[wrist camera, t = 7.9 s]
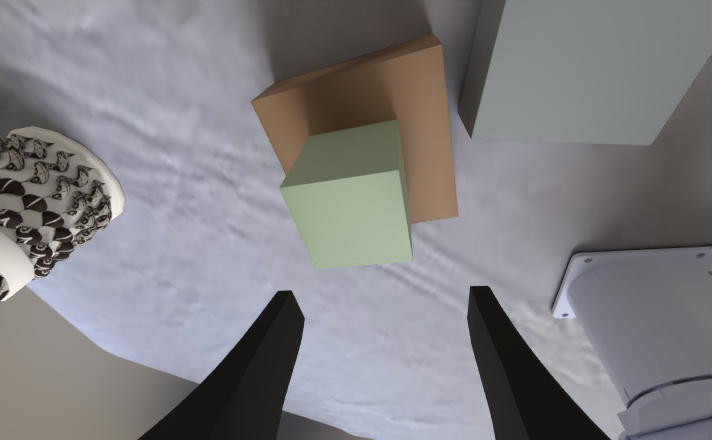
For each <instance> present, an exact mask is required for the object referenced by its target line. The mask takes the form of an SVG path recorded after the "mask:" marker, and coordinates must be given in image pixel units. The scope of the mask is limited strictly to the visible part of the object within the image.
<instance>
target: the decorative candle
mask: <svg viewBox="0 0 712 440" xmlns="http://www.w3.org/2000/svg"><path fill="white" fill-rule="evenodd" d="M124 202H125V197H124V195H123V192H122V189H121V186H120V183H119V181H118V180H117V179H116V178H115V176H114V175H113V174H112V172H111V171H110V170H109V168H108V167H107V166H106V165H105V163H103V162H102V161H101V160H100V159H99V158H97V157H96V156H95V155H94V154H93V153H91V152H90V151H89V150H88V149H87V148H85V147H84V146H83V145H81V144H79V143H77V142H76V141H74V140H72V139H70V138H68V137H66V136H64V135H62V134H60V133H59V132H56V131H52V130H47V129H43V128H39V127H35V126H31V127H25V128H19V129H15V130H12V131H11V132H10V133H9V134H8V136H7V137H3V136H1V135H0V301H5V300H6V299H8V298H9V297H10V296H12V295H13V294H14V293H16V292H17V291H18V290H19V289H21V288H22V287H23V286H25V285H26V284H27V283H28V282H30V281H31V280H35V279H37V278H43V277H45V276H47V275H48V274H49V273H50V270H51V269H52V268H53V267H54V265H55V263H56V262H57V261H64V260H66V259H67V258H68V257H69V253H71V252H73V250H74V247H75V246H81V245H84V244H86V243H88V242H89V241H90V240H91V239H92V237H93V235H94V234H95V233H96V232H99V231H102V230H103V229H105V228H106V226H107V224H108V223H109V222H110V221H111V220H112V219H114V218H115V217H116V216H118V215H119V214H120V213H122V212H123V207H124ZM58 252H59V253H58ZM57 253H58V254H57Z"/></svg>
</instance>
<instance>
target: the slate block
mask: <svg viewBox="0 0 712 440" xmlns="http://www.w3.org/2000/svg"><path fill="white" fill-rule="evenodd" d="M711 54H712V0H482V3H481V7H480V12H479V17H478V22H477V26H476V31H475V36H474V41H473V45H472V50H471V55H470V60H469V64H468V69H467V74H466V79H465V83H464V88H463V93H462V98H461V102H460V107H459V112H458V114H459V116H460V118H461V120H462V122H463V124H464V126H465V128H466V130H467V132H468V134H469V136H470V138H471V139H476V140H504V141H532V142H560V143H588V144H617V145H645V146H651V145H652V143H653V142H654V140H655V139H656V137H657V136H658V134H659V133H660V131H661V130H662V128H663V126H664V125H665V123H666V122H667V120H668V119H669V117H670V116H671V114H672V113H673V111H674V110H675V108H676V107H677V105H678V104H679V102H680V101H681V99H682V98H683V96H684V95H685V93H686V92H687V90H688V89H689V87H690V86H691V84H692V83H693V81H694V80H695V78H696V77H697V75H698V74H699V72H700V70H701V69H702V67H703V66H704V64H705V63H706V61H707V60H708V58H709V57H710V55H711Z"/></svg>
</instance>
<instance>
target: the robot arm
mask: <svg viewBox="0 0 712 440" xmlns="http://www.w3.org/2000/svg"><path fill="white" fill-rule="evenodd" d="M551 314H552V316H553V317H555V318H577V319H578V321H579V323H580V325H581V327H582V328H583V330H584V332H585V334H586V336H587V337H588V339H589V341H590V343H591V345H592V347H593V348H594V350H595V352H596V354H597V356H598V357H599V359H600V361H601V363H602V365H603V366H604V368H605V370H606V372H607V374H608V375H609V377H610V379H611V381H612V383H613V384H614V386H615V388H616V390H617V392H618V394H619V395H620V397H621V399H622V401H623V403H624V404H625V406H626V408H627V410H625V411H623V412H620V413H618V414H617V415H618V417H619V419H620V421H621V423H622V425H623V427H624V429H625V430H626V431H623V432H622V433H621V434H620V435H619V438H618V440H712V246H711V247H691V248H671V249H650V250H630V251H610V252H590V253H577V254H575V255H573V256H572V258H571V260H570V263H569V266H568V268H567V271H566V274H565V276H564V279H563V282H562V284H561V287H560V290H559V292H558V295H557V298H556V300H555V303H554V306H553V308H552V311H551ZM467 320H468V326H469V332H470V338H471V344H472V348H473V352H474V355H475V359H476V363H477V366H478V370H479V374H480V377H481V381H482V384H483V388H484V392H485V395H486V399H487V402H488V406H489V410H490V414H491V418H492V423H493V428H494V433H495V439H496V440H611V439H610V438H609V437H608V436H607V435H606V434H605V433H604V432H603V431H602V430H601V429H600V428H599V427H598V426H597V425H596V424H595V423H594V422H593V421H592V420H591V419H590V418H589V417H588V416H587V415H586V413H585V412H584V411H583V410H582V409H581V408H580V407H579V406H578V405H577V404H576V403H575V402H574V401H573V399H572V398H571V397H570V396H569V395H568V394H567V393H566V391H565V390H564V389H563V388H562V387H561V386H560V385H559V383H558V382H557V381H556V380H555V379H554V378H553V376H552V375H551V374H550V373H549V372H548V370H547V369H546V368H545V367H544V365H543V364H542V363H541V362H540V360H539V359H538V358H537V357H536V355H535V354H534V353H533V351H532V350H531V349H530V347H529V346H528V345H527V343H526V342H525V341H524V339H523V338H522V336H521V335H520V334H519V332H518V331H517V330H516V328H515V327H514V325H513V324H512V322H511V321H510V319H509V318H508V316H507V315H506V313H505V312H504V310H503V309H502V307H501V305H500V304H499V302H498V301H497V299H496V297H495V295H494V294H493V292H492V290H491V288H490V287H488V286H470V294H469V305H468V315H467ZM304 321H305V318H304V316H303V314H302V311H301V309H300V307H299V305H298V303H297V301H296V299H295V297H294V295H293V292H292V290H289V291H278V292H277V293H276V294H275V295H274V297H273V298H272V299H271V301H270V302H269V303H268V305H267V306H266V307H265V309H264V310H263V311H262V313H261V314H260V315H259V317H258V318H257V319H256V320H255V322H254V323H253V324H252V326H251V327H250V328H249V329H248V331H247V332H246V333H245V334H244V336H243V337H242V338H241V339H240V341H239V342H238V343H237V344H236V345H235V346H234V348H233V349H232V350H231V351H230V352H229V354H228V355H227V356H226V357H225V358H224V359H223V360H222V362H221V363H220V364H219V365H218V366H217V367H216V368H215V369H214V370H213V371H212V372H211V373H210V374H209V375H208V377H207V378H206V379H205V380H204V381H203V382H202V383H201V384H200V385H199V386H198V387H197V388H196V389H194V390H193V391H192V393H190V394H189V395H188V396H187V397H186V398H185V399H184V400H183V401H182V402H181V403H180V404H179V405H178V406H176V407H175V408H174V409H173V410H172V411H171V412H170V413H169V414H167V415H166V416H165V417H164V418H163V419H162V420H160V421H159V422H158V423H157V424H156V425H155V426H153V427H152V428H151V429H150V430H149V431H147V432H146V433H145V434H144V435H143V436H141V437H140V438H139V439H138V440H276V438H277V433H278V428H279V422H280V418H281V412H282V408H283V404H284V400H285V396H286V393H287V389H288V386H289V382H290V379H291V376H292V372H293V369H294V365H295V362H296V358H297V355H298V351H299V348H300V344H301V340H302V334H303V328H304Z"/></svg>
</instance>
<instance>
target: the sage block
mask: <svg viewBox="0 0 712 440" xmlns="http://www.w3.org/2000/svg"><path fill="white" fill-rule="evenodd" d="M279 189H280V191H281V193H282V196H283V198H284V200H285V202H286V204H287V207H288V209H289V211H290V213H291V216H292V218H293V220H294V222H295V224H296V227H297V229H298V231H299V233H300V235H301V238H302V240H303V242H304V244H305V247H306V249H307V251H308V253H309V255H310V258H311V260H312V262H313V264H314V266H315V269H324V268H336V267H348V266H360V265H373V264H385V263H397V262H409V261H413V254H412V239H411V224H410V209H409V196H408V189H407V182H406V175H405V168H404V161H403V154H402V147H401V140H400V133H399V126H398V119H397V120H392V121H386V122H381V123H376V124H371V125H365V126H360V127H355V128H350V129H344V130H339V131H334V132H328V133H323V134H318V135H313V136H309V138H308V140H307V141H306V143H305V145H304V146H303V148H302V150H301V152H300V153H299V155H298V157H297V158H296V160H295V162H294V164H293V165H292V167H291V169H290V170H289V172H288V174H287V176H286V177H285V179H284V181H283V183H282V184H281V186H280V188H279Z"/></svg>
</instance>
